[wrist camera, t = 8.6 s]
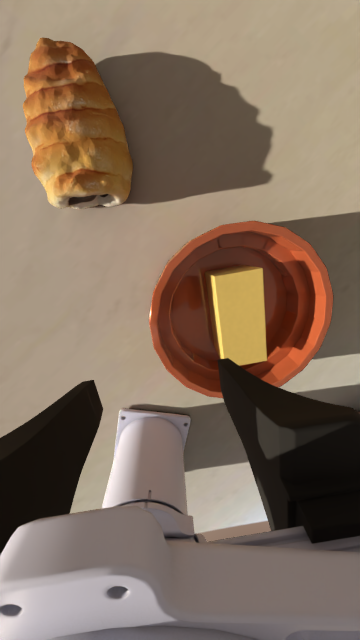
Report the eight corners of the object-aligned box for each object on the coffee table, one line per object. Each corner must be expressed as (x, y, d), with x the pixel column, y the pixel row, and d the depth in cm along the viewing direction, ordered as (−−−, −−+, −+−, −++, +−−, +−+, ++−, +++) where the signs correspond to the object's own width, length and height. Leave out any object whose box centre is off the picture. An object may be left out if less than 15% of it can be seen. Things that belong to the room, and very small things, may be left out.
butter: (249, 341, 21) (267, 361, 18) (214, 347, 21) (224, 368, 18) (244, 264, 19) (263, 267, 15) (204, 271, 19) (213, 276, 15)
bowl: (272, 379, 24) (296, 407, 19) (144, 361, 22) (139, 388, 18) (320, 245, 19) (363, 243, 15) (166, 213, 18) (166, 201, 14)
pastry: (17, 67, 15) (-32, 6, 11) (114, 54, 15) (98, -10, 11) (59, 216, 18) (32, 206, 14) (140, 204, 18) (134, 192, 14)
